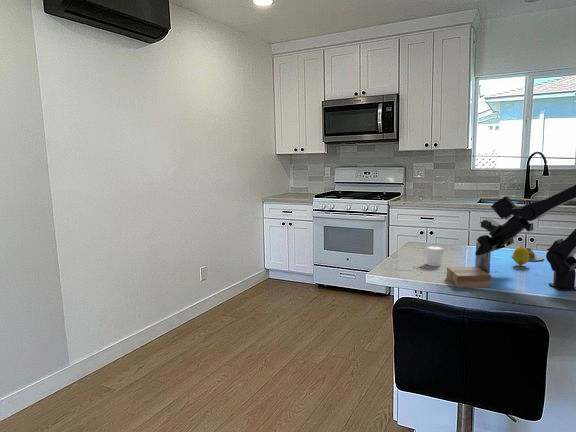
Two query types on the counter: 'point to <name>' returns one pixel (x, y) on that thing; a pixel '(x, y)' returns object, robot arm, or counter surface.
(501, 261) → the counter surface
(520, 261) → the lemon
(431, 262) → the shot glass
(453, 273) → the walnut block
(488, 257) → the tea tin
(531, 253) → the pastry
